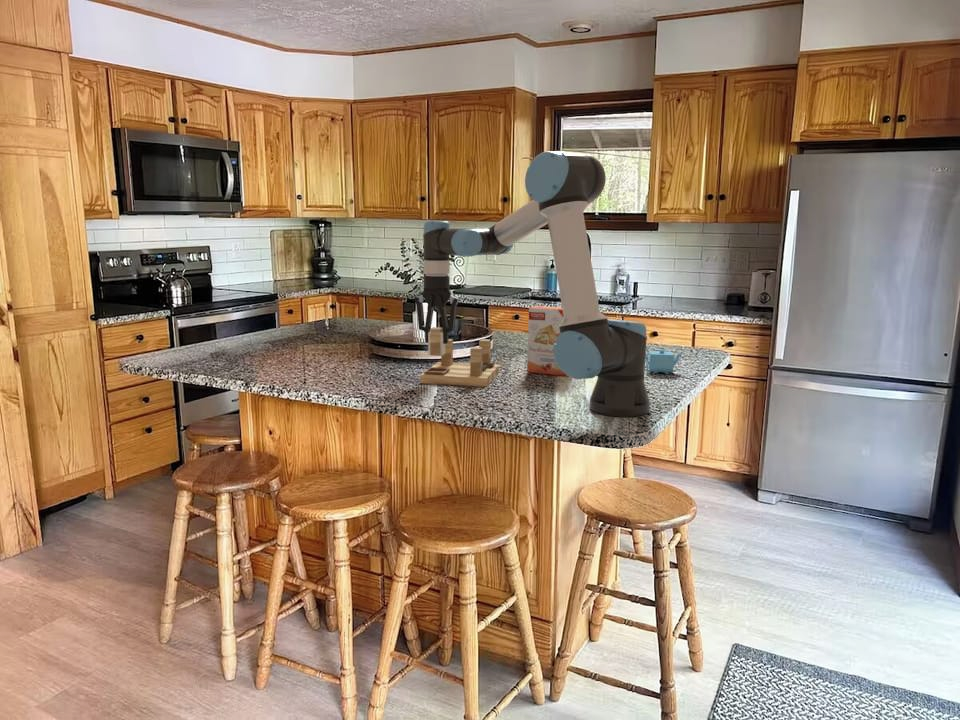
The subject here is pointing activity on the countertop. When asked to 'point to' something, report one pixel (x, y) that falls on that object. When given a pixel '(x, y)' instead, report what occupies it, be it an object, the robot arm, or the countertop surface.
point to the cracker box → (543, 339)
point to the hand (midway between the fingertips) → (436, 353)
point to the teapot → (661, 361)
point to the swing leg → (485, 352)
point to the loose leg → (435, 341)
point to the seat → (460, 369)
